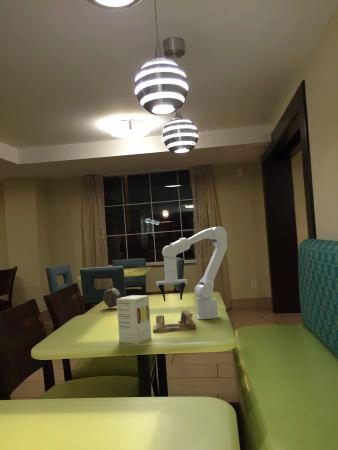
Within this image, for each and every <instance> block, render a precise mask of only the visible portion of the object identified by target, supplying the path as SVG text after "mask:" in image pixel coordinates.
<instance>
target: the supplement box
mask: <svg viewBox="0 0 338 450" xmlns="http://www.w3.org/2000/svg"><path fill="white" fill-rule="evenodd" d="M116 307H117V308H116V310H117V311H116V312H117V325H118V326H117V327H118V340H119V343H125V344H134V345H138V344H141V343H143V342H145V341H147V340H150V339H152V329H151V328H152V326H151V313H150V312H151V311H150V299H149V295H139V294H138V295H136V294H135V295H134V294H133V295H132V294H131V295H127V296H124V297H123V296H122V297H121V298H119V299H117V306H116Z"/></svg>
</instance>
